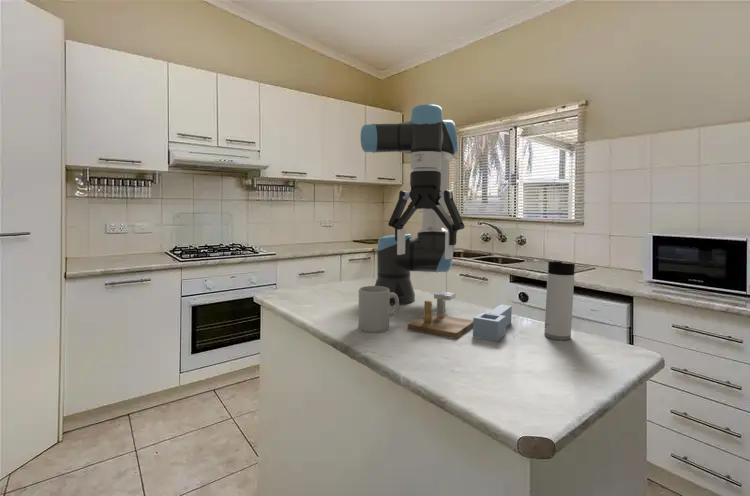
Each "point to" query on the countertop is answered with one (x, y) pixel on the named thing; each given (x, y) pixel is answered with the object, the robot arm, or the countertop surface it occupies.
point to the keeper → (442, 302)
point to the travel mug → (559, 300)
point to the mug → (375, 308)
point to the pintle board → (440, 324)
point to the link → (492, 323)
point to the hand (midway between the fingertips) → (423, 256)
